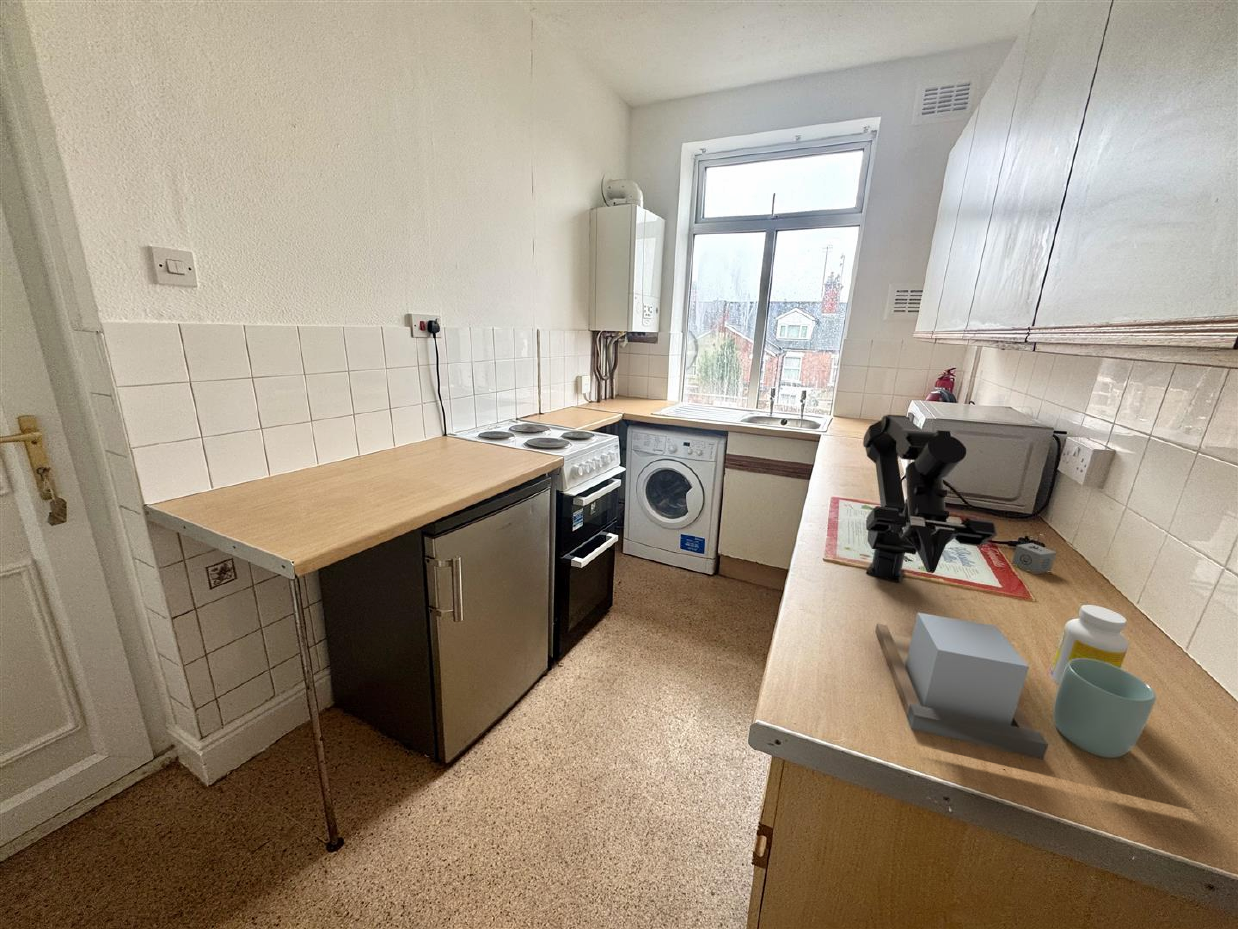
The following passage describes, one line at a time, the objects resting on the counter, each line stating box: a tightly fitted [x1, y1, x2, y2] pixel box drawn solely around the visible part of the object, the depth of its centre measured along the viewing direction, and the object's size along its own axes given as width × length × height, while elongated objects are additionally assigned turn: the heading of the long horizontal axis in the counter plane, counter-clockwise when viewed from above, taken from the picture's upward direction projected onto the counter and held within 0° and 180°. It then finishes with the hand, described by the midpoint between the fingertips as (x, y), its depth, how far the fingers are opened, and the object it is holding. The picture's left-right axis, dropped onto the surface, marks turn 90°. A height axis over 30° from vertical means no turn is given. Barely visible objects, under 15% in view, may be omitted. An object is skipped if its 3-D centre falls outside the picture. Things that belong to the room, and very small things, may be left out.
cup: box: [1053, 658, 1157, 759], centre depth 60 cm, size 8×8×10 cm
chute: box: [874, 623, 1049, 760], centre depth 70 cm, size 22×14×3 cm, turn 163°
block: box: [905, 612, 1030, 726], centre depth 66 cm, size 9×10×10 cm
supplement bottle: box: [1049, 604, 1129, 686], centre depth 69 cm, size 7×7×13 cm
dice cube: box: [1011, 542, 1057, 575], centre depth 108 cm, size 5×5×5 cm
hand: (931, 572), depth 80 cm, fingers closed
